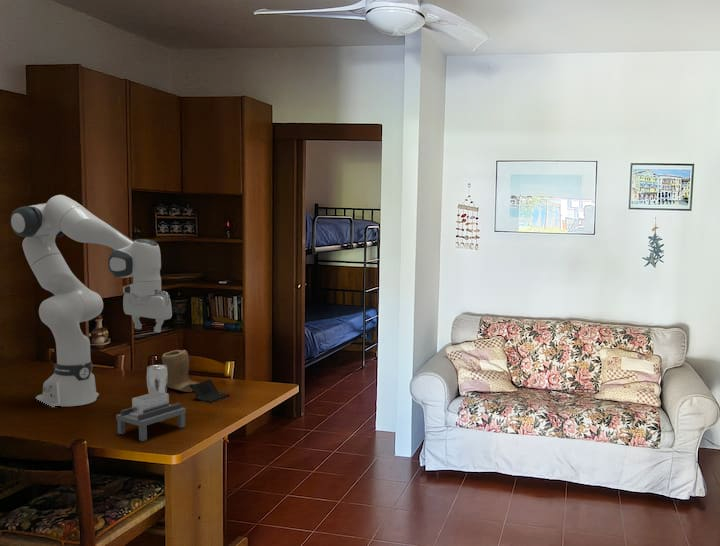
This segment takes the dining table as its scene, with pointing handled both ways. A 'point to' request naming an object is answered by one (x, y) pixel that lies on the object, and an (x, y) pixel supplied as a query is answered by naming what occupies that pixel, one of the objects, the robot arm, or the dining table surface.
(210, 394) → the dark grey angled bracket
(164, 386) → the beer glass
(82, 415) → the dining table surface
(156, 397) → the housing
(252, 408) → the dining table surface
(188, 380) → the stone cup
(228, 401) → the dining table surface
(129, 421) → the stand
